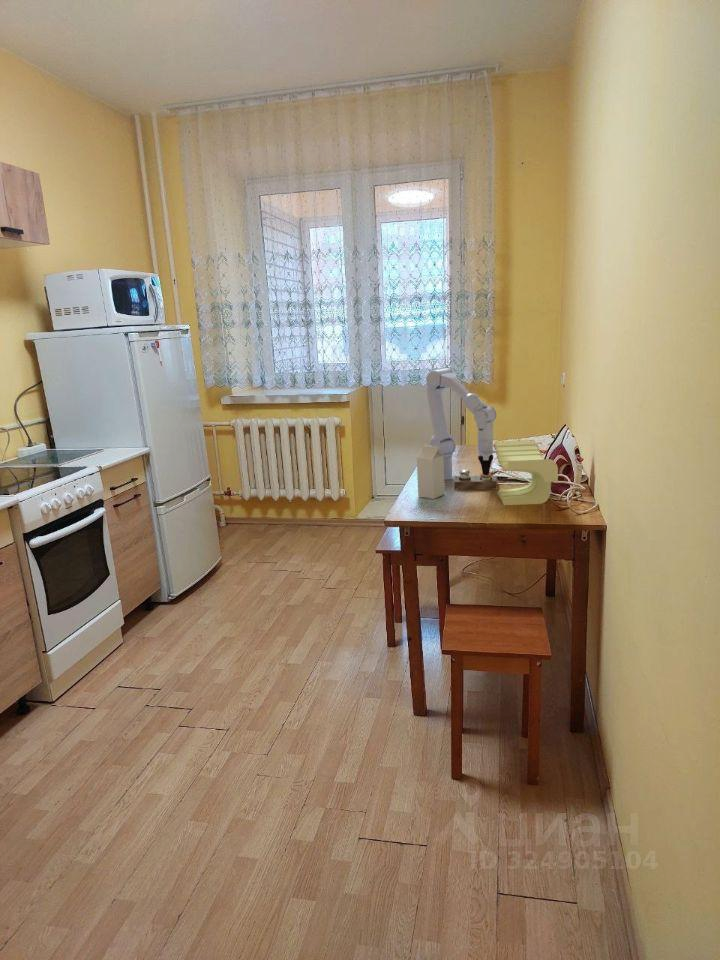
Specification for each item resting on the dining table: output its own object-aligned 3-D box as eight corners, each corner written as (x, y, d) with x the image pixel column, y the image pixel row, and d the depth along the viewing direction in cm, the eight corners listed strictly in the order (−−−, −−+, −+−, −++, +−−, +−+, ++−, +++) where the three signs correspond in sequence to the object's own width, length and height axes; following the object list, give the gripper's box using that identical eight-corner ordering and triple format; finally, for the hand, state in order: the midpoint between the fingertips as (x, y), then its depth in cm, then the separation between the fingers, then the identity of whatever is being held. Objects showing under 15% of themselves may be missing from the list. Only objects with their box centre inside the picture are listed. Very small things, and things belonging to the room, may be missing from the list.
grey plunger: (459, 482, 227) (459, 472, 226) (459, 480, 231) (459, 469, 229) (469, 482, 226) (469, 471, 225) (470, 479, 230) (469, 469, 229)
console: (454, 489, 226) (453, 481, 225) (454, 483, 233) (454, 476, 233) (496, 488, 223) (496, 481, 222) (496, 483, 230) (496, 475, 229)
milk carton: (433, 499, 215) (432, 448, 210) (418, 496, 220) (416, 446, 215) (444, 494, 220) (443, 444, 215) (429, 491, 225) (427, 443, 220)
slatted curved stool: (556, 511, 194) (558, 458, 190) (507, 513, 196) (507, 461, 191) (537, 485, 223) (538, 439, 218) (495, 487, 225) (494, 441, 220)
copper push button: (480, 486, 226) (480, 475, 224) (480, 483, 229) (480, 472, 228) (491, 486, 225) (491, 475, 224) (491, 483, 228) (491, 472, 227)
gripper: (496, 443, 215) (497, 479, 218) (495, 435, 228) (496, 469, 232) (477, 443, 216) (477, 479, 220) (477, 435, 230) (477, 469, 233)
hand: (485, 474), depth 226 cm, fingers closed, pressing on copper push button
